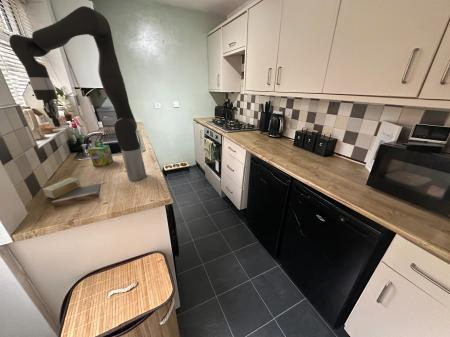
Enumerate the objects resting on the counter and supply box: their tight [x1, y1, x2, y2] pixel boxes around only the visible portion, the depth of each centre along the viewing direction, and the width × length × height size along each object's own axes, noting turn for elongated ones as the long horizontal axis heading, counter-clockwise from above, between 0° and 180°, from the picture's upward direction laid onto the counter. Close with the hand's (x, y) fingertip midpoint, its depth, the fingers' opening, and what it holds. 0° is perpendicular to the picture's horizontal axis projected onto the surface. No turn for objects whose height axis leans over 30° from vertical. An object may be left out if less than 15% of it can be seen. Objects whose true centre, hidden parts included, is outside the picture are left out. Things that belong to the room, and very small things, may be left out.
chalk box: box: [88, 141, 114, 167], centre depth 119 cm, size 9×9×15 cm
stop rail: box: [51, 191, 99, 208], centre depth 81 cm, size 16×2×2 cm, turn 119°
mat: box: [56, 183, 101, 200], centre depth 87 cm, size 16×12×1 cm
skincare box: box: [42, 177, 82, 200], centre depth 88 cm, size 6×4×12 cm
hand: (57, 126), depth 91 cm, fingers closed
